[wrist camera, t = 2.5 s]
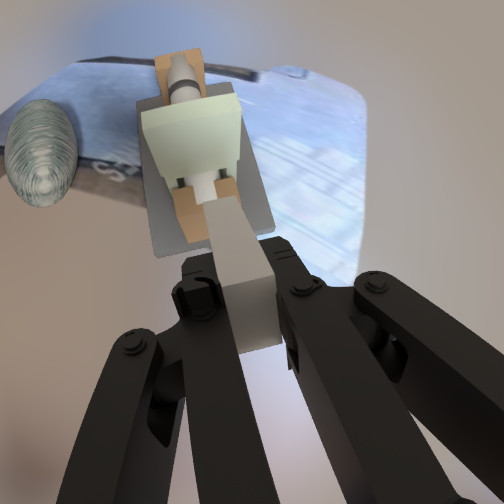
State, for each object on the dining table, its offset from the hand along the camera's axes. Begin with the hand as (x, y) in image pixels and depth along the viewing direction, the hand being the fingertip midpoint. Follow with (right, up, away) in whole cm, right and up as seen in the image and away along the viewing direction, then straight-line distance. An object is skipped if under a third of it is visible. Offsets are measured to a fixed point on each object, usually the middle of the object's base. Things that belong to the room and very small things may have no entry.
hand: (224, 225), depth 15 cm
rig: (-5, +9, +20) cm, 22 cm away
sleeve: (-3, +6, +14) cm, 16 cm away
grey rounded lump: (-23, +10, +19) cm, 32 cm away
